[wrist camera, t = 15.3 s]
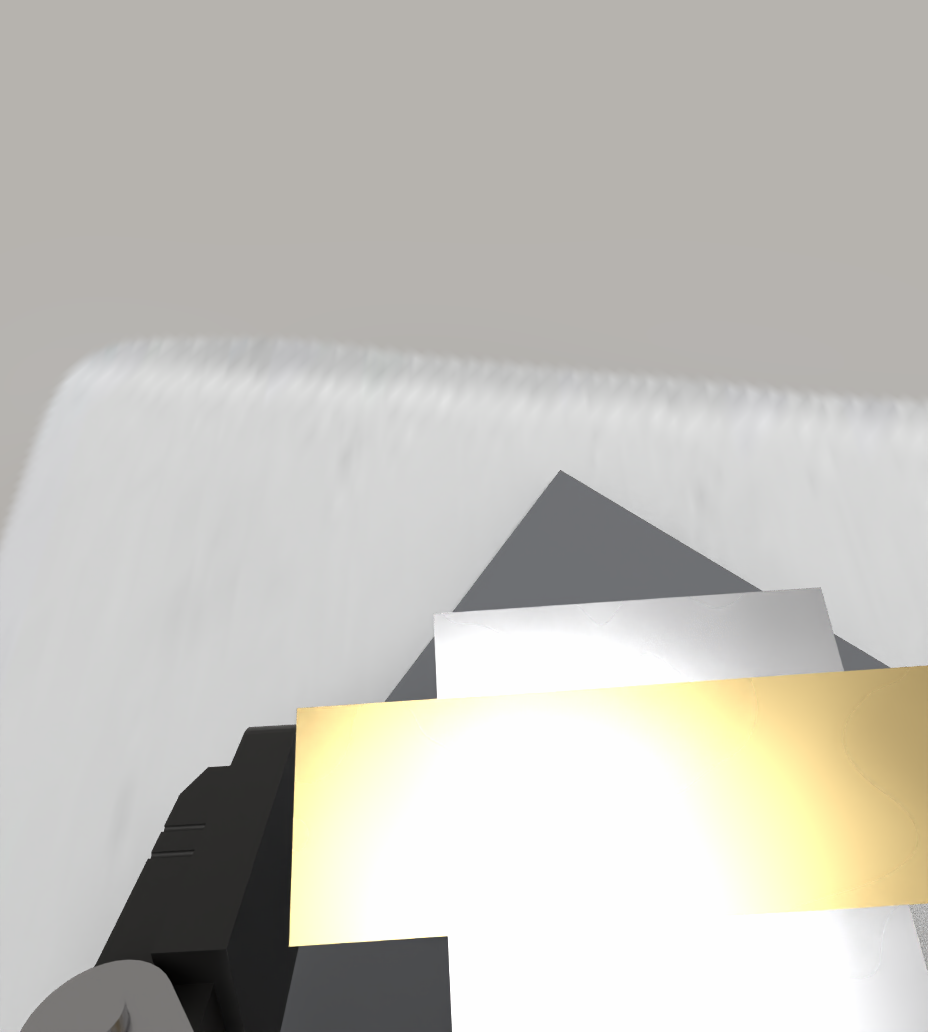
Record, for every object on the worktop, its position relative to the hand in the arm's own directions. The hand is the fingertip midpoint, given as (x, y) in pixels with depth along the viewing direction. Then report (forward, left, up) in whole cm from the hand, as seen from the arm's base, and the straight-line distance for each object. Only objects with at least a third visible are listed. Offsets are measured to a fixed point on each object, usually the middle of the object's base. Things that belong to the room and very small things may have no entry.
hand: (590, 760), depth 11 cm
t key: (+1, +1, -7) cm, 7 cm away
